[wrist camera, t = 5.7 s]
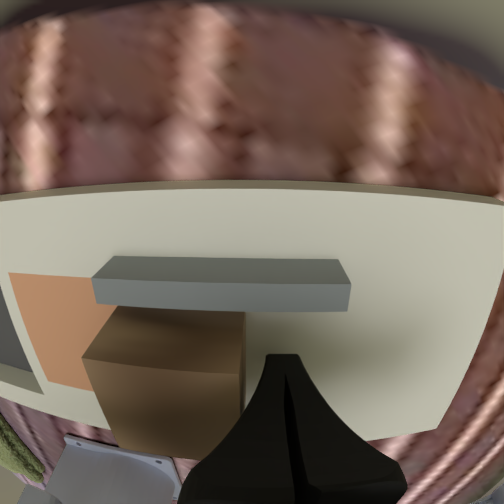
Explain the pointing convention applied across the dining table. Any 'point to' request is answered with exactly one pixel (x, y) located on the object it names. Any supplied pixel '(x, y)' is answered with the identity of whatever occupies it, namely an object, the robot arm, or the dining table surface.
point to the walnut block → (169, 378)
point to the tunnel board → (257, 285)
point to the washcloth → (18, 454)
